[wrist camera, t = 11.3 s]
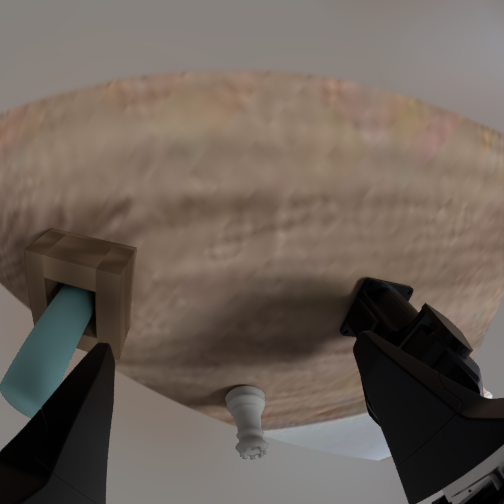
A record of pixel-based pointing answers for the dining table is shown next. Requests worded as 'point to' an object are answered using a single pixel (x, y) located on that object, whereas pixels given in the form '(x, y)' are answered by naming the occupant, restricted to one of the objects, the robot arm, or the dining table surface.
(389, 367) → the robot arm
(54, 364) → the teal pin
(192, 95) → the dining table surface
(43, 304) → the walnut hole block
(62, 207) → the dining table surface
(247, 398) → the rook chess piece
